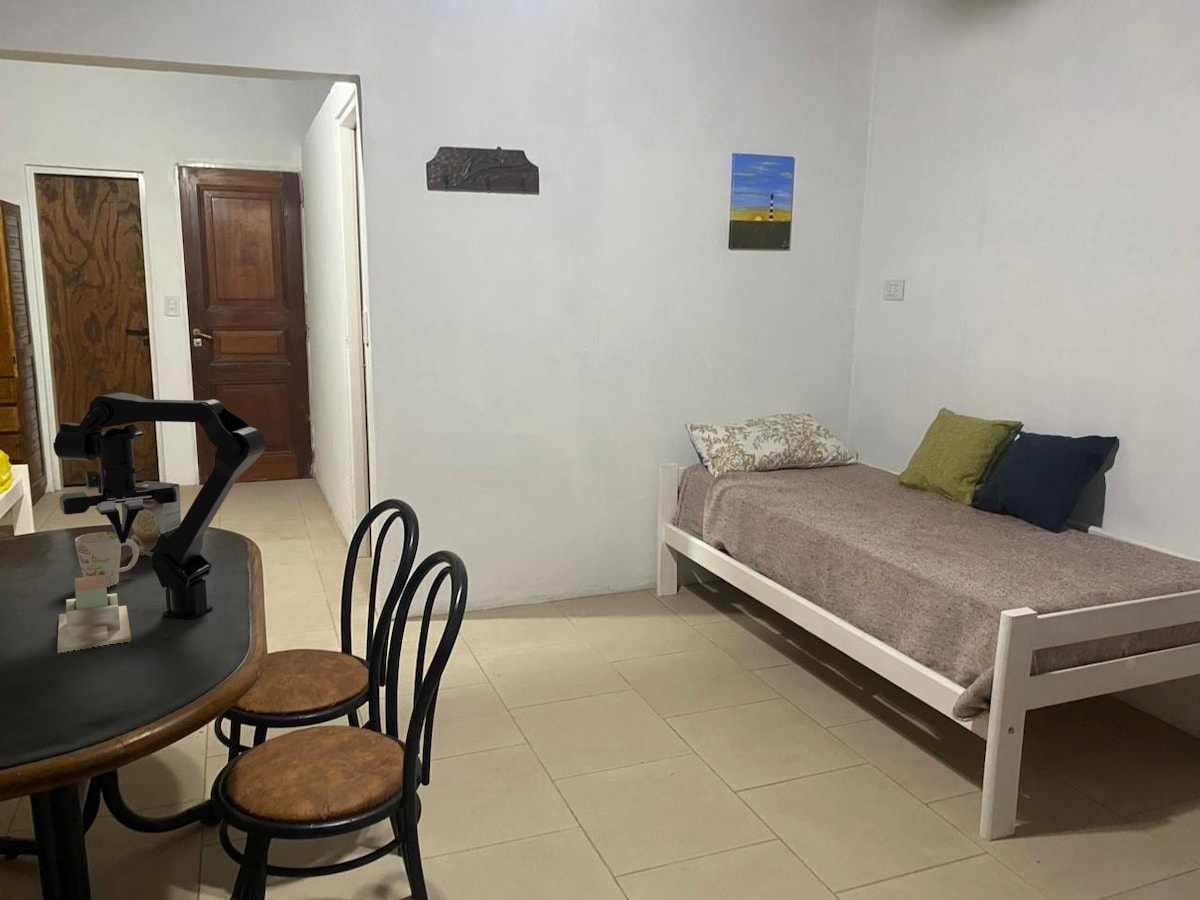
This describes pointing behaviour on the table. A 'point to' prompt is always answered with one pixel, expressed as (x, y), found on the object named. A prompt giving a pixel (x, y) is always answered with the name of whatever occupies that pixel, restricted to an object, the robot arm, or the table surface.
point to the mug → (103, 555)
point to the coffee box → (154, 519)
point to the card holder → (93, 626)
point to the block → (91, 592)
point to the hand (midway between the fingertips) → (122, 542)
